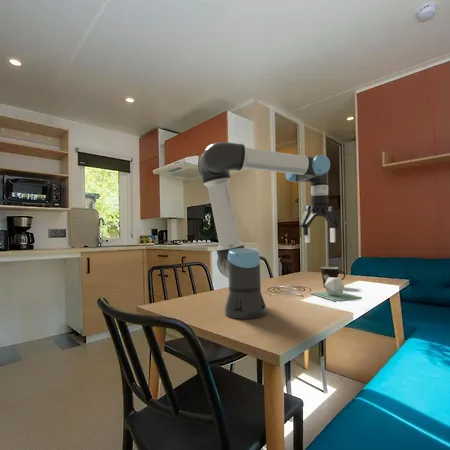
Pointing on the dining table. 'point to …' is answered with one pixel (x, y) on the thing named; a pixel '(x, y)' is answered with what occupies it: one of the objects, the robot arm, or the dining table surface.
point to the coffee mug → (330, 273)
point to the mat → (339, 298)
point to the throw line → (323, 297)
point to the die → (334, 286)
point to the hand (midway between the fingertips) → (320, 242)
